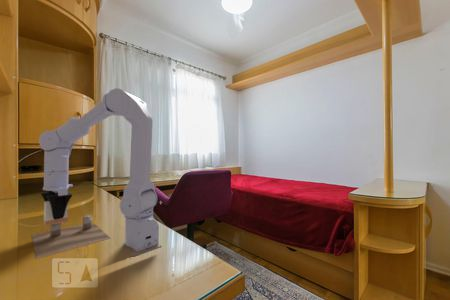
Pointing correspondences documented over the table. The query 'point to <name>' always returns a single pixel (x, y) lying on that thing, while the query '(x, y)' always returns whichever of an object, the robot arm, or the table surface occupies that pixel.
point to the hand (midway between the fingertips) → (55, 216)
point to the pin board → (67, 238)
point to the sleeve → (49, 217)
